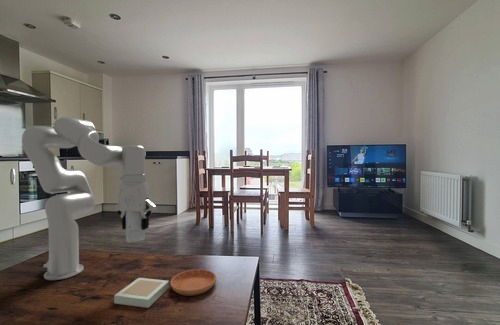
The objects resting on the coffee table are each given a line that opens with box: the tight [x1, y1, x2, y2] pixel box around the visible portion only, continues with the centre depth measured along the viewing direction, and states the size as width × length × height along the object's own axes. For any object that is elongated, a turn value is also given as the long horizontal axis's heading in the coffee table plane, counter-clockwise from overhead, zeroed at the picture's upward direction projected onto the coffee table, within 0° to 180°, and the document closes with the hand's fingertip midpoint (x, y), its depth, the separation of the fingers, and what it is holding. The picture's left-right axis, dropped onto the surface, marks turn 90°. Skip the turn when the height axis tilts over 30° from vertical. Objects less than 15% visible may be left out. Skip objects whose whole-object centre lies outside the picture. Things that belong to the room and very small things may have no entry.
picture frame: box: [113, 277, 170, 309], centre depth 82 cm, size 12×12×3 cm
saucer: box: [169, 268, 217, 297], centre depth 88 cm, size 16×16×3 cm
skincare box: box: [125, 208, 146, 244], centre depth 89 cm, size 6×4×12 cm
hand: (135, 228), depth 89 cm, fingers closed on skincare box, 7 cm apart
